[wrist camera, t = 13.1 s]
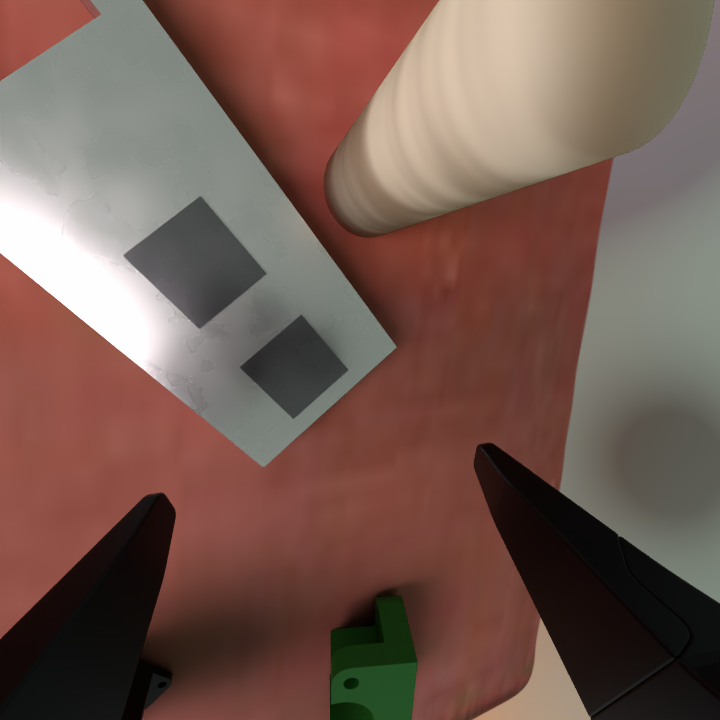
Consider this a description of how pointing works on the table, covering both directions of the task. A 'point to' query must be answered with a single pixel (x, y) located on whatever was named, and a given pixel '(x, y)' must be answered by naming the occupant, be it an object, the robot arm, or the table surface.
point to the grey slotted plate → (174, 233)
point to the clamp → (374, 667)
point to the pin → (511, 102)
